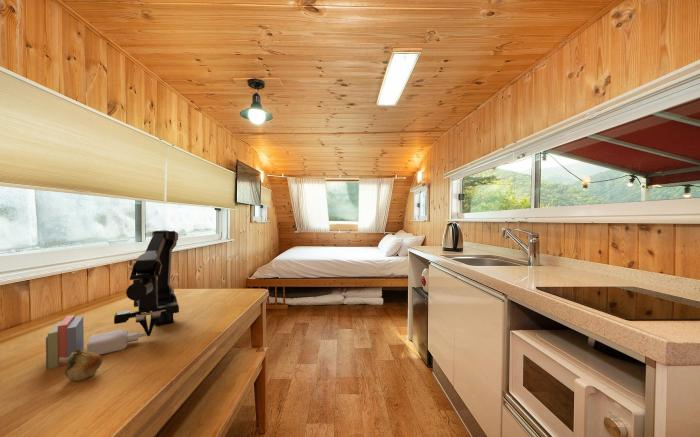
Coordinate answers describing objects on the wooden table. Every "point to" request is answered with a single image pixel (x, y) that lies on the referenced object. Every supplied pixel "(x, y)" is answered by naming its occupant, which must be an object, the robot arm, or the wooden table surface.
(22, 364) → the wooden table surface
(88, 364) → the onion
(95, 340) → the charger
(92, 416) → the wooden table surface
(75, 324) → the book row
